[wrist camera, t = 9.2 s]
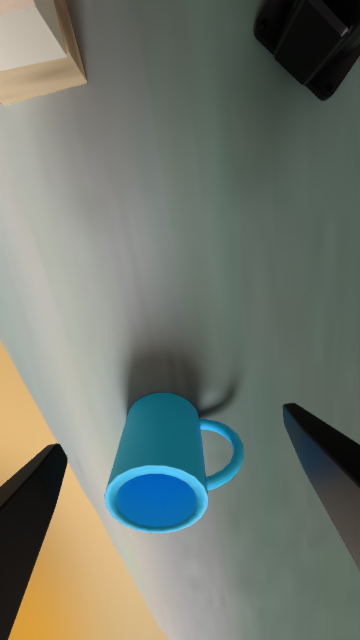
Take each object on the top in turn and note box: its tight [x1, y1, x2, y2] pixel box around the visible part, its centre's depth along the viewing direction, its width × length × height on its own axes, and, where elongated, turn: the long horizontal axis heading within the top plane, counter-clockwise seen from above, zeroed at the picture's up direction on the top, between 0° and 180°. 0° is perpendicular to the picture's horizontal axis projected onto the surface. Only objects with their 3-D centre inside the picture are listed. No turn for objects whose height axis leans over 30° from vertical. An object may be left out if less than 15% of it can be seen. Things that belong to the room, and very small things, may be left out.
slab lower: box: [0, 0, 87, 105], centre depth 13 cm, size 6×6×3 cm
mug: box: [105, 393, 244, 533], centre depth 22 cm, size 12×8×8 cm
